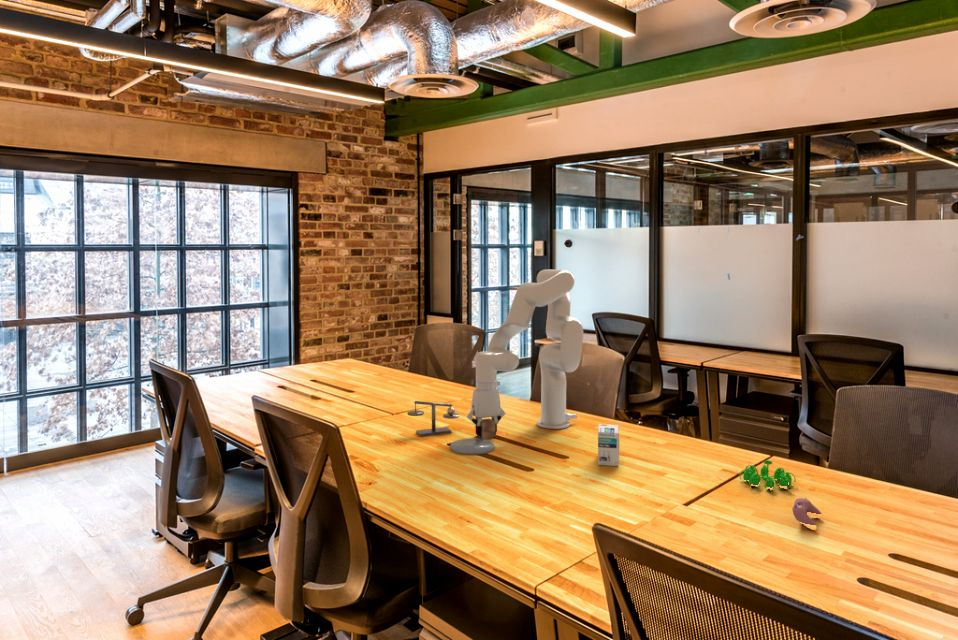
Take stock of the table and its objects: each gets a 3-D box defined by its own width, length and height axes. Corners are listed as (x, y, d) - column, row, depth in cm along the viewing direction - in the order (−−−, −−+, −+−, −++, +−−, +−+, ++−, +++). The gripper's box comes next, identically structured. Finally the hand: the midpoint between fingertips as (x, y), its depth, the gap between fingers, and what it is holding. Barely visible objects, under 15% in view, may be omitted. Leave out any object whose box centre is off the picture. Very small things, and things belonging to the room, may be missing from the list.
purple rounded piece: (806, 521, 172) (793, 495, 173) (824, 517, 170) (811, 491, 171) (799, 535, 164) (786, 507, 165) (818, 531, 162) (805, 503, 163)
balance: (455, 428, 256) (455, 395, 254) (461, 432, 250) (461, 398, 249) (405, 433, 248) (405, 400, 247) (410, 438, 243) (410, 403, 241)
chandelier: (742, 491, 190) (743, 467, 189) (736, 474, 204) (737, 452, 204) (800, 496, 186) (801, 472, 185) (790, 478, 200) (791, 456, 200)
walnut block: (489, 434, 248) (489, 418, 247) (495, 437, 243) (495, 421, 242) (477, 435, 246) (477, 419, 245) (482, 439, 241) (482, 423, 241)
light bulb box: (619, 466, 211) (619, 433, 210) (597, 465, 212) (597, 432, 211) (618, 456, 221) (619, 424, 220) (598, 455, 222) (598, 423, 221)
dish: (483, 439, 240) (483, 436, 240) (501, 451, 227) (501, 448, 226) (444, 444, 234) (444, 441, 234) (459, 457, 221) (459, 453, 221)
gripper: (503, 382, 249) (503, 429, 251) (460, 385, 243) (460, 435, 244) (512, 385, 242) (511, 435, 244) (468, 389, 236) (468, 440, 238)
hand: (486, 434), depth 244 cm, fingers open, 5 cm apart
